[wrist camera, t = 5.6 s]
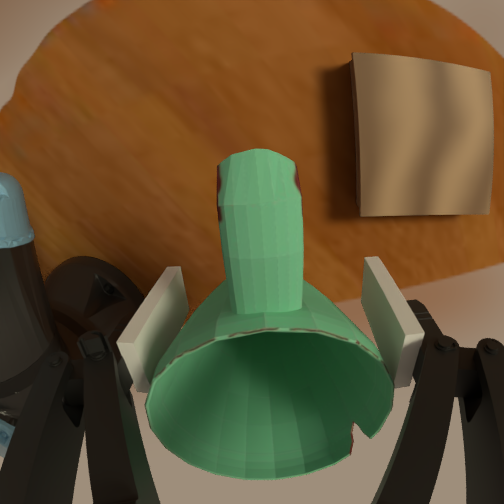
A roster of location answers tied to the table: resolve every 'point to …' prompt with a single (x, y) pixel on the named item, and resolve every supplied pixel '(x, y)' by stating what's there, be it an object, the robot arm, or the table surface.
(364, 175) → the walnut board
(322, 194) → the table surface
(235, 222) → the mug
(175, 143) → the table surface
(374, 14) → the table surface
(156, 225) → the table surface
